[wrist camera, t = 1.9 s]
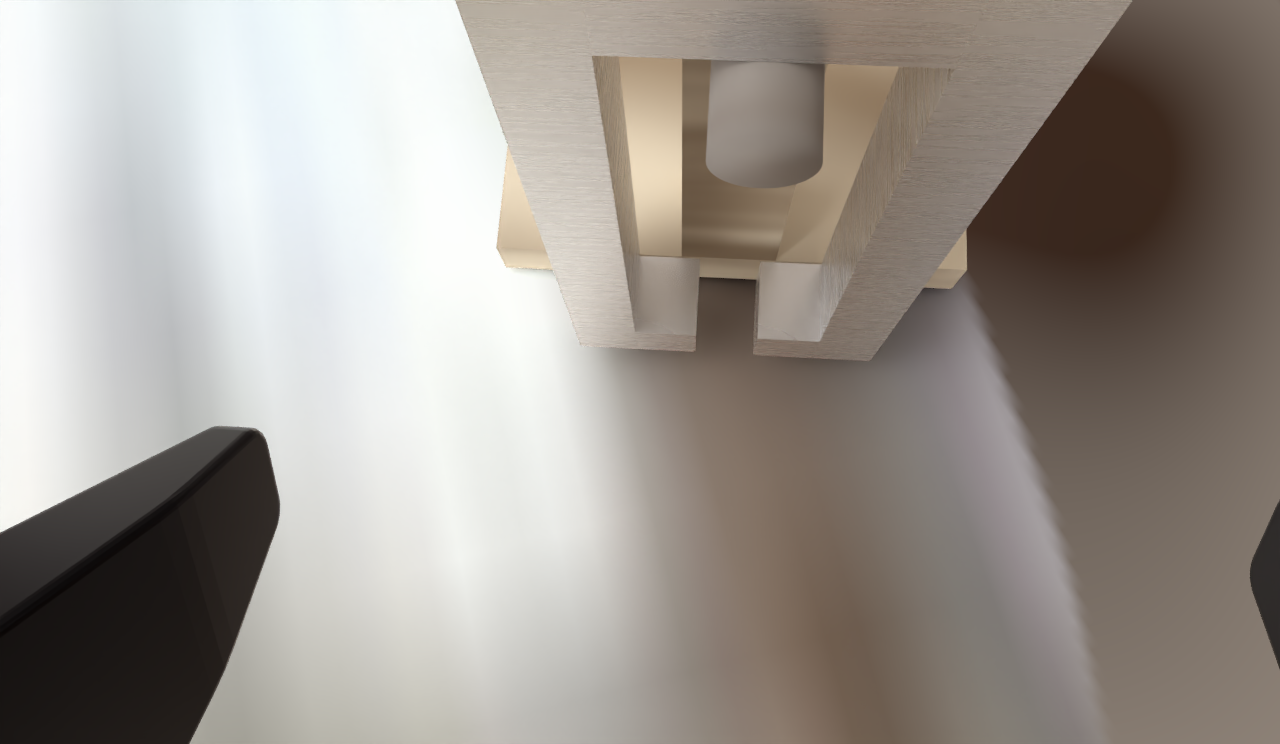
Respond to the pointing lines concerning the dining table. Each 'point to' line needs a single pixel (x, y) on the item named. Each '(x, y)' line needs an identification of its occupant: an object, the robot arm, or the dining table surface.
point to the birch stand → (735, 163)
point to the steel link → (792, 33)
